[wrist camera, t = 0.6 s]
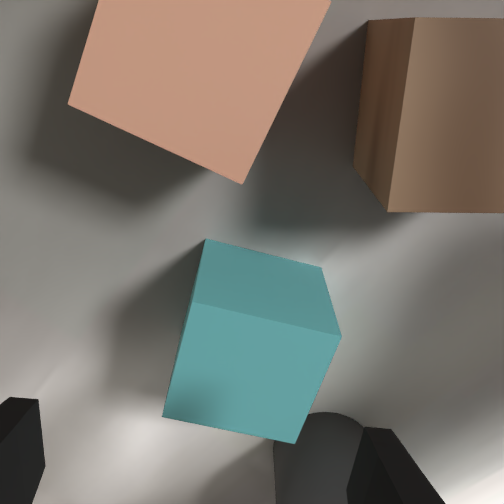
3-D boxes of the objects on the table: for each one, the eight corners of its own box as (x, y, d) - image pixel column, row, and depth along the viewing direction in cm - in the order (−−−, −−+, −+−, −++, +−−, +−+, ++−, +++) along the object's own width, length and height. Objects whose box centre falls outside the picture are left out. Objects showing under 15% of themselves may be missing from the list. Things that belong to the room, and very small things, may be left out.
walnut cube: (515, 22, 16) (620, 20, 11) (481, 167, 18) (560, 213, 14) (367, 20, 16) (415, 17, 11) (352, 165, 18) (387, 212, 13)
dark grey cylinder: (384, 423, 24) (416, 516, 19) (349, 489, 26) (370, 587, 21) (290, 403, 23) (299, 494, 18) (261, 472, 25) (264, 569, 21)
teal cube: (321, 266, 20) (341, 336, 15) (285, 358, 22) (294, 443, 17) (205, 237, 19) (192, 301, 15) (180, 334, 21) (162, 416, 17)
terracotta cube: (308, 9, 16) (331, 1, 11) (244, 144, 18) (242, 184, 13) (168, -68, 15) (131, -111, 10) (117, 84, 17) (67, 104, 12)
